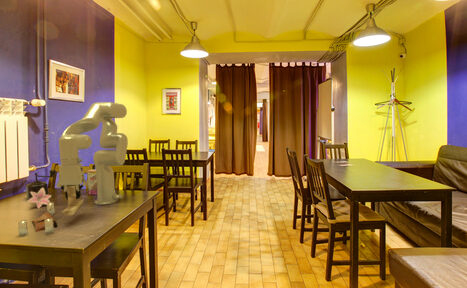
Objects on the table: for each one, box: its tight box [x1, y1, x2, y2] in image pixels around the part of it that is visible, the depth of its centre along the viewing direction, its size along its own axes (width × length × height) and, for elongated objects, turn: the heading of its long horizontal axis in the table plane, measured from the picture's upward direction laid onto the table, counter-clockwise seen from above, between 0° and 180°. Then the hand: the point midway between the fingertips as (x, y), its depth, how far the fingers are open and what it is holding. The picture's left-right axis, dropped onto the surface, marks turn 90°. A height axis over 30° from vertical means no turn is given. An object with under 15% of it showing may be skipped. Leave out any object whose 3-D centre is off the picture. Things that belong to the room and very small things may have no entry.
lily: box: [27, 188, 52, 209], centre depth 153 cm, size 12×12×10 cm
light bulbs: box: [17, 201, 69, 237], centre depth 127 cm, size 13×29×6 cm, turn 12°
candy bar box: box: [86, 169, 97, 196], centre depth 177 cm, size 11×5×16 cm, turn 86°
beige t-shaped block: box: [62, 185, 85, 216], centre depth 130 cm, size 4×16×12 cm, turn 12°
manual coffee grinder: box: [25, 169, 57, 201], centre depth 170 cm, size 16×11×18 cm
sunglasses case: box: [31, 211, 58, 233], centre depth 126 cm, size 18×7×7 cm, turn 43°
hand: (73, 198), depth 130 cm, fingers closed on beige t-shaped block, 3 cm apart
